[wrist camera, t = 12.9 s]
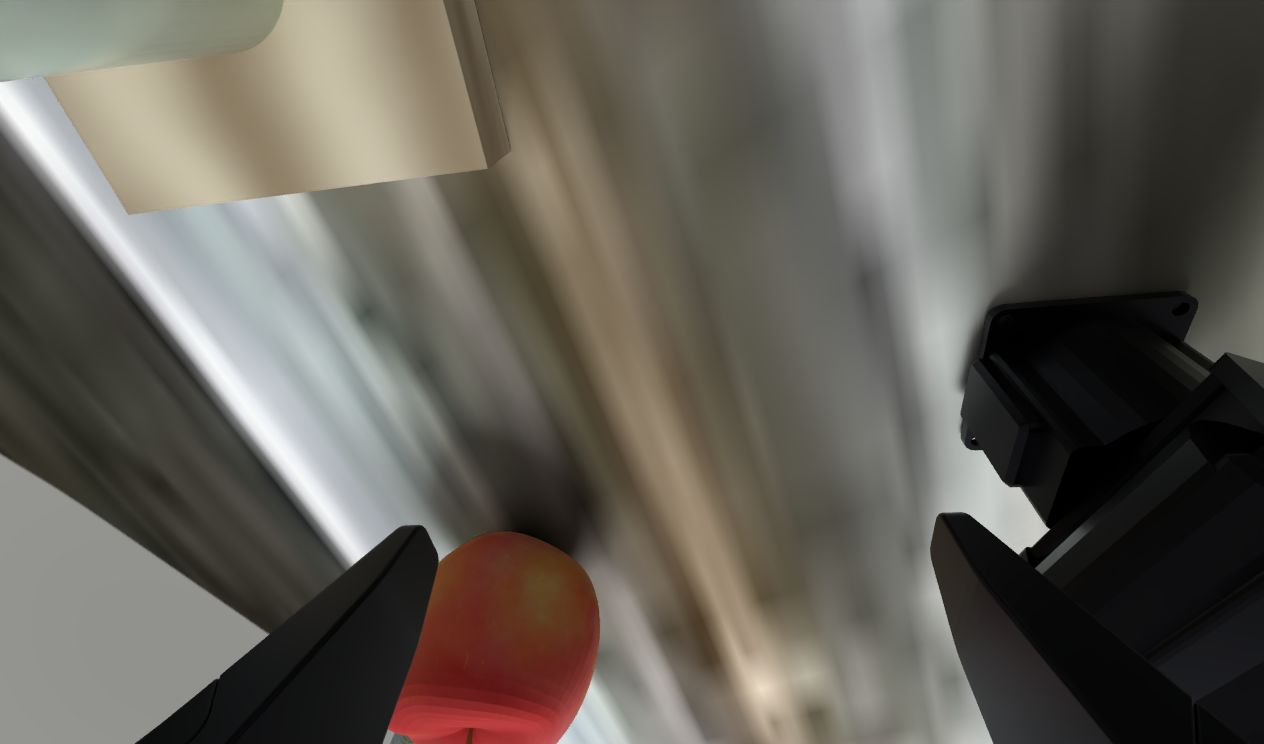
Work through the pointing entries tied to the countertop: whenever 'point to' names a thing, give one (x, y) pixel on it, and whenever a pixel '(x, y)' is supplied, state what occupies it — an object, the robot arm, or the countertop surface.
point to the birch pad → (297, 107)
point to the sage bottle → (124, 32)
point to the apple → (501, 646)
